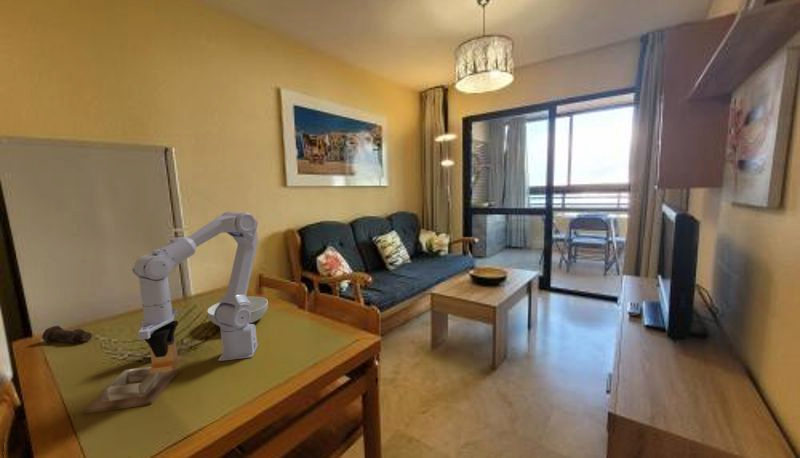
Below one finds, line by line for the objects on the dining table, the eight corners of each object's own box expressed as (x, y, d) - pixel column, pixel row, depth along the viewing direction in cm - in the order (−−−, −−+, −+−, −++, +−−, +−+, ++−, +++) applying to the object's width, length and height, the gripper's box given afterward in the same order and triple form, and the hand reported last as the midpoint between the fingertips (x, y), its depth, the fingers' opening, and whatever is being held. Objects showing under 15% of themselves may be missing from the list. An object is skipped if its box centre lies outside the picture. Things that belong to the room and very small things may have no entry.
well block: (179, 371, 91) (177, 359, 90) (151, 404, 77) (149, 389, 77) (123, 378, 88) (121, 365, 88) (83, 413, 75) (81, 398, 74)
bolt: (86, 348, 111) (50, 345, 113) (99, 335, 115) (63, 332, 117) (75, 338, 107) (37, 335, 109) (88, 325, 111) (52, 323, 113)
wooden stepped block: (181, 360, 85) (178, 338, 85) (172, 370, 81) (169, 347, 80) (159, 363, 84) (157, 340, 84) (149, 373, 80) (146, 350, 79)
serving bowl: (254, 333, 114) (252, 315, 113) (196, 335, 114) (194, 316, 113) (277, 311, 134) (276, 295, 133) (228, 312, 135) (226, 296, 134)
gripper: (154, 294, 87) (160, 342, 88) (119, 315, 72) (127, 371, 74) (183, 292, 88) (189, 339, 90) (155, 312, 74) (162, 367, 76)
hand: (163, 353), depth 82 cm, fingers closed on wooden stepped block
